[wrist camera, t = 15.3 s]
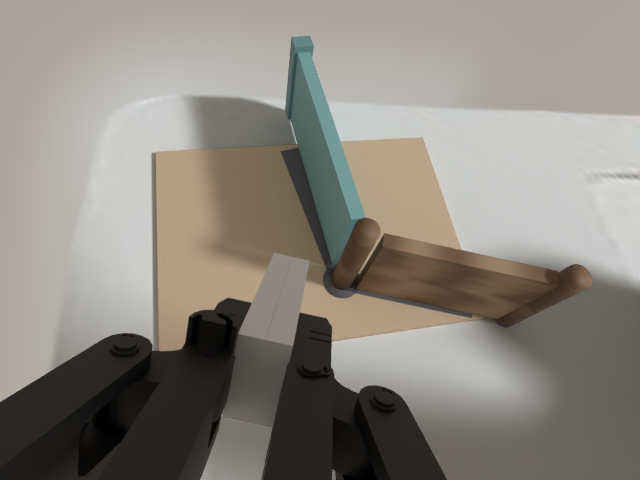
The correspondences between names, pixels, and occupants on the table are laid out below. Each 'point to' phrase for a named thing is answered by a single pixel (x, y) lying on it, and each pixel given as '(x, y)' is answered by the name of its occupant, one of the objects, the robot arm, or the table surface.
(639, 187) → the table surface
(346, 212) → the fence gate
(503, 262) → the fence frame
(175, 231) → the mat
